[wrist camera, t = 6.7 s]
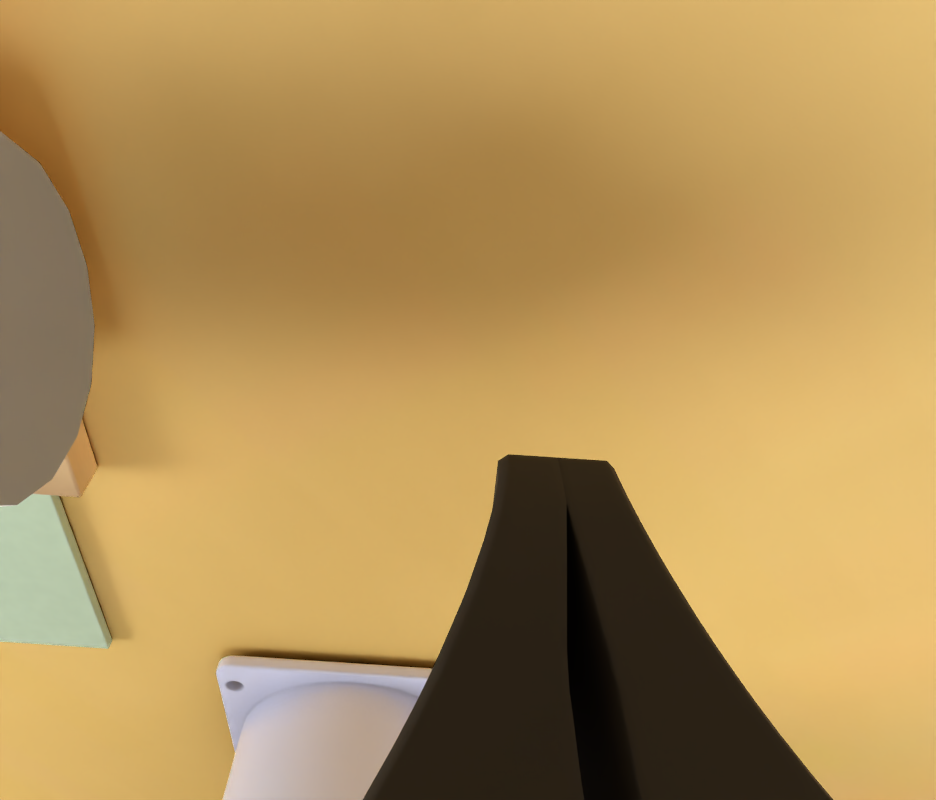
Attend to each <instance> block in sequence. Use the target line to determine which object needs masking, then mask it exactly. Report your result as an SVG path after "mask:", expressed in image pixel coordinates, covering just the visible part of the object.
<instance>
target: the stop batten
mask: <svg viewBox="0 0 936 800" xmlns="http://www.w3.org/2000/svg"><path fill="white" fill-rule="evenodd" d="M96 471H97V465H96V461H95V458H94V455H93V452H92V449H91V446H90V442H89V439H88V436H87V433H86V430H85V427H84V423H83V420H82V421H81V425H80V428H79V432H78V436H77V438H76V440H75V441H74V443H73V445H72V446H71V448H70V450H69V452H68V453H67V455H66V457H65V458H64V460H63V462H62V464H61V465H60V467H59V469H58V470H57V472H56V474H55V476H54V477H53V479H52V480H51V481H49V482H48V483H46V484H45V485H44V486H42V487H41V488H40V489H38V490H37V491H36V492H34V493H33V494H40V495H54V496H69V497H80V496H82V494H83V492H84V491H85V489H86V487H87V486H88V484H89V482H90V481H91V479H92V477H93V476H94V474H95V472H96Z"/></svg>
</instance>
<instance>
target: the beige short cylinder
mask: <svg viewBox="0 0 936 800" xmlns="http://www.w3.org/2000/svg"><path fill="white" fill-rule="evenodd" d="M94 328H95V325H94V317H93V309H92V301H91V293H90V285H89V277H88V269H87V265H86V261H85V258H84V255H83V252H82V249H81V246H80V243H79V240H78V237H77V234H76V231H75V228H74V224H73V221H72V218H71V215H70V212H69V210H68V208H67V207H66V205H65V203H64V202H63V200H62V198H61V197H60V195H59V193H58V192H57V190H56V189H55V187H54V185H53V184H52V182H51V180H50V179H49V177H48V175H47V174H46V172H45V170H44V169H43V167H42V166H41V164H40V163H39V162H38V161H37V160H36V159H34V158H33V157H32V156H31V155H29V154H28V153H27V152H26V151H24V150H23V149H22V148H21V147H19V146H18V145H17V144H16V143H14V142H13V141H12V140H11V139H10V138H8V137H7V136H6V135H5V134H3V133H2V132H0V507H2V506H13V505H18V504H19V503H21V502H22V501H23V500H25V499H26V498H27V497H29V496H30V495H32V494H33V493H34V492H36V491H37V490H38V489H40V488H41V487H42V486H44V485H45V484H46V483H48V482H49V481H51V480H52V479H53V477H54V476H55V474H56V472H57V470H58V469H59V467H60V465H61V464H62V462H63V460H64V458H65V457H66V455H67V453H68V452H69V450H70V448H71V446H72V445H73V443H74V441H75V440H76V438H77V436H78V432H79V428H80V425H81V421H82V417H83V413H84V410H85V406H86V402H87V398H88V394H89V391H90V387H91V381H92V364H93V346H94Z"/></svg>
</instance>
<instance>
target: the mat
mask: <svg viewBox="0 0 936 800" xmlns="http://www.w3.org/2000/svg"><path fill="white" fill-rule="evenodd" d="M0 642H16V643H31V644H46V645H61V646H76V647H92V648H107V649H108V648H109V646H110V644H111V642H112V638H111V635H110V633H109V630H108V627H107V625H106V622H105V619H104V616H103V614H102V611H101V608H100V606H99V603H98V600H97V597H96V595H95V592H94V589H93V587H92V584H91V581H90V579H89V576H88V573H87V570H86V568H85V565H84V562H83V560H82V557H81V554H80V551H79V549H78V546H77V543H76V541H75V538H74V535H73V532H72V530H71V527H70V524H69V522H68V519H67V516H66V514H65V511H64V508H63V505H62V503H61V500H60V497H59V496H54V495H40V494H32V495H30V496H29V497H27V498H26V499H25V500H23V501H22V502H21V503H19V504H18V505H13V506H2V507H0Z"/></svg>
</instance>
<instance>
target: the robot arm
mask: <svg viewBox="0 0 936 800" xmlns="http://www.w3.org/2000/svg"><path fill="white" fill-rule="evenodd" d="M216 675H217V680H218V684H219V688H220V692H221V696H222V700H223V705H224V709H225V713H226V717H227V721H228V725H229V730H230V734H231V738H232V742H233V746H234V750H235V756H234V760H233V763H232V767H231V771H230V774H229V778H228V782H227V785H226V789H225V793H224V796H223V800H833V799H832V798H831V797H830V795H829V794H828V793H827V792H826V791H825V789H824V788H823V787H822V786H821V785H820V784H819V782H818V781H817V780H816V779H815V778H814V776H813V775H812V774H811V773H810V772H809V770H808V769H807V768H806V767H805V765H804V764H803V763H802V761H801V760H800V759H799V758H798V756H797V755H796V754H795V753H794V751H793V750H792V749H791V748H790V746H789V745H788V744H787V743H786V741H785V740H784V739H783V738H782V736H781V735H780V734H779V733H778V731H777V730H776V729H775V727H774V726H773V725H772V723H771V722H770V721H769V719H768V718H767V717H766V715H765V714H764V713H763V711H762V710H761V709H760V707H759V706H758V705H757V703H756V702H755V701H754V699H753V698H752V696H751V695H750V694H749V692H748V691H747V690H746V688H745V687H744V686H743V684H742V683H741V681H740V680H739V678H738V677H737V676H736V674H735V673H734V671H733V670H732V668H731V667H730V665H729V664H728V663H727V661H726V660H725V658H724V657H723V655H722V654H721V653H720V651H719V650H718V648H717V647H716V645H715V644H714V642H713V641H712V639H711V638H710V636H709V635H708V633H707V632H706V630H705V629H704V627H703V626H702V624H701V623H700V621H699V619H698V618H697V616H696V615H695V613H694V612H693V610H692V608H691V607H690V605H689V603H688V602H687V600H686V599H685V597H684V595H683V594H682V592H681V591H680V589H679V587H678V586H677V584H676V582H675V581H674V579H673V578H672V576H671V574H670V573H669V571H668V569H667V568H666V566H665V564H664V563H663V561H662V559H661V557H660V556H659V554H658V552H657V550H656V549H655V547H654V545H653V543H652V541H651V540H650V538H649V536H648V534H647V532H646V531H645V529H644V527H643V525H642V523H641V522H640V520H639V518H638V516H637V514H636V512H635V510H634V508H633V506H632V504H631V503H630V501H629V499H628V497H627V495H626V493H625V491H624V489H623V487H622V484H621V482H620V480H619V478H618V476H617V474H616V472H615V470H614V468H613V467H612V466H611V465H610V464H609V463H608V462H607V461H599V460H584V459H568V458H553V457H538V456H523V455H507V456H505V457H504V458H502V459H500V460H499V461H498V467H497V476H496V484H495V493H494V502H493V509H492V513H491V517H490V520H489V524H488V528H487V531H486V535H485V538H484V542H483V545H482V547H481V550H480V553H479V556H478V559H477V562H476V565H475V567H474V570H473V573H472V576H471V579H470V582H469V585H468V588H467V590H466V593H465V595H464V598H463V600H462V603H461V605H460V607H459V610H458V612H457V614H456V617H455V619H454V621H453V624H452V626H451V628H450V631H449V633H448V635H447V637H446V640H445V642H444V644H443V647H442V649H441V651H440V654H439V656H438V658H437V660H436V662H435V665H434V667H433V668H419V667H404V666H389V665H374V664H358V663H343V662H328V661H313V660H298V659H282V658H267V657H252V656H237V655H232V656H226V657H224V658H222V659H221V660H220V661H219V664H218V667H217V670H216Z"/></svg>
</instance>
